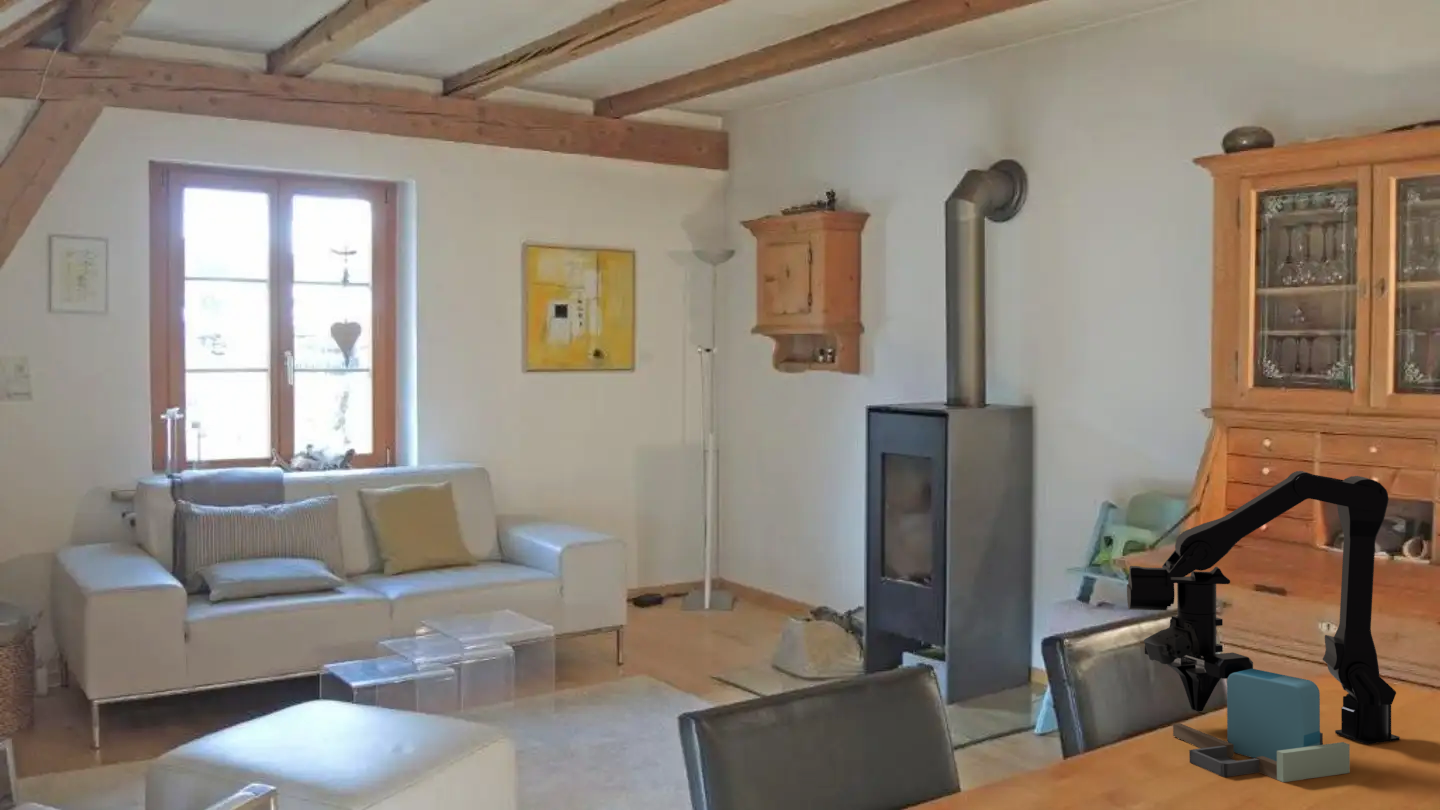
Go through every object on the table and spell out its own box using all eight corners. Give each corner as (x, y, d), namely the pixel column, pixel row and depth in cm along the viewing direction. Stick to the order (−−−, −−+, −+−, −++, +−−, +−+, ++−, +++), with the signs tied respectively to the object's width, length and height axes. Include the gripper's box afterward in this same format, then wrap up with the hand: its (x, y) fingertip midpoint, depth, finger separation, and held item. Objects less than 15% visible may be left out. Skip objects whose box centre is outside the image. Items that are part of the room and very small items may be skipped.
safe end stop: (1343, 770, 178) (1342, 741, 178) (1349, 772, 177) (1349, 744, 177) (1276, 779, 175) (1276, 750, 175) (1283, 782, 174) (1283, 753, 174)
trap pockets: (1287, 732, 197) (1287, 720, 197) (1359, 758, 184) (1359, 746, 183) (1158, 748, 190) (1158, 736, 190) (1223, 777, 176) (1223, 764, 176)
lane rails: (1234, 729, 199) (1234, 716, 199) (1343, 770, 178) (1342, 756, 178) (1173, 736, 196) (1173, 723, 196) (1276, 779, 175) (1276, 765, 175)
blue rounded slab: (1320, 765, 181) (1320, 681, 180) (1302, 771, 178) (1302, 686, 178) (1244, 745, 191) (1244, 666, 190) (1226, 751, 188) (1226, 670, 188)
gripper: (1116, 604, 204) (1116, 700, 205) (1194, 626, 187) (1194, 731, 187) (1174, 599, 208) (1174, 694, 208) (1255, 620, 190) (1256, 724, 191)
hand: (1197, 710), depth 199 cm, fingers closed
